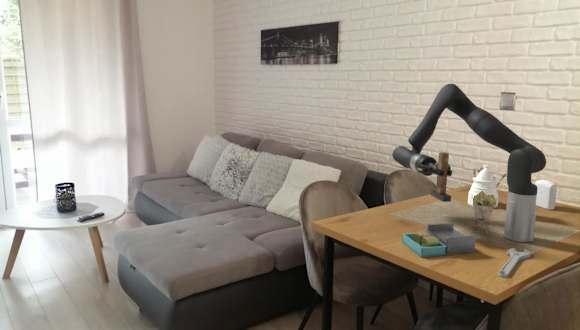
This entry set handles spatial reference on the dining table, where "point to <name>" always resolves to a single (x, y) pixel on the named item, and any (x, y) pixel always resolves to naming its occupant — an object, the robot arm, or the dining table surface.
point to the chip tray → (426, 251)
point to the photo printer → (546, 194)
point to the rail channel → (452, 238)
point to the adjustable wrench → (513, 261)
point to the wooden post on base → (442, 179)
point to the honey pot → (483, 185)
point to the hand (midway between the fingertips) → (446, 173)
